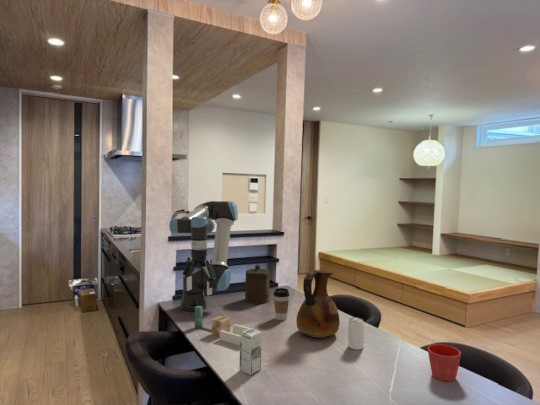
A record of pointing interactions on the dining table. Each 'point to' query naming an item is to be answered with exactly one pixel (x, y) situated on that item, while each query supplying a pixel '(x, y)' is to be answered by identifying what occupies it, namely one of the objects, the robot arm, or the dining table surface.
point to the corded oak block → (217, 323)
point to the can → (356, 333)
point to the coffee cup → (281, 303)
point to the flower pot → (444, 361)
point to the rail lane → (233, 334)
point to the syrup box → (250, 351)
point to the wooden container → (257, 285)
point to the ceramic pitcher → (317, 307)
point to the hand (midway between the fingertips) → (199, 292)
